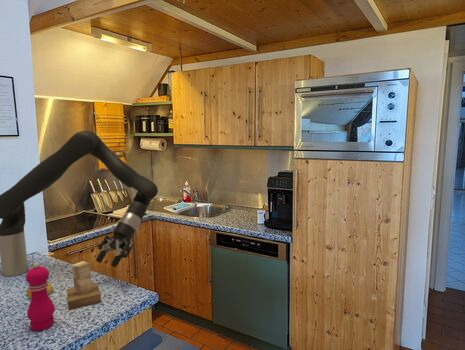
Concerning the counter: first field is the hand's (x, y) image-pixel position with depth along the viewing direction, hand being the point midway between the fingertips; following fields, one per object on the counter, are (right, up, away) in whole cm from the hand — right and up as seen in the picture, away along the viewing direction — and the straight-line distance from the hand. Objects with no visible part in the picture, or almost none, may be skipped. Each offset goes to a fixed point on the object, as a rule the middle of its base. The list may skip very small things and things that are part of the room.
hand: (105, 264), depth 123 cm
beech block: (-5, -8, -7) cm, 12 cm away
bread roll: (-23, -11, -1) cm, 26 cm away
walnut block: (-5, -11, -7) cm, 13 cm away
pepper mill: (-11, -13, -21) cm, 27 cm away
